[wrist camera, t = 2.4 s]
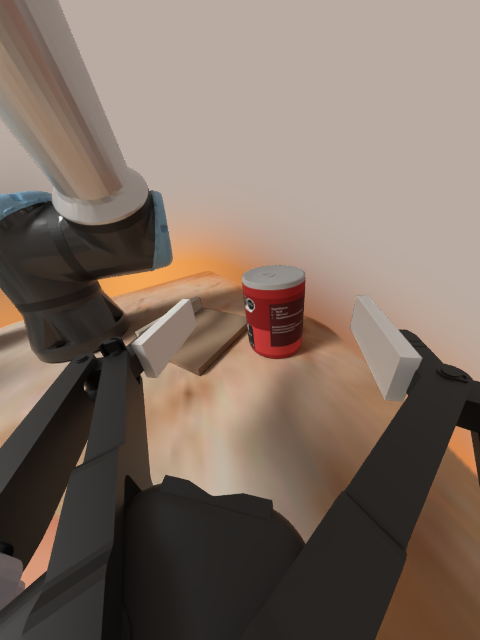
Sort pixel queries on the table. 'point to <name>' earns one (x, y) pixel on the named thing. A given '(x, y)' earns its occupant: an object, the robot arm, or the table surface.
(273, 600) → the robot arm
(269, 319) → the canned food
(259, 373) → the table surface
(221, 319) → the shelf board
